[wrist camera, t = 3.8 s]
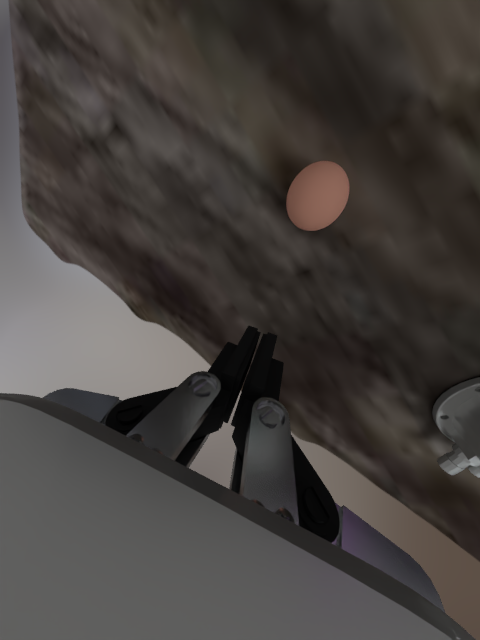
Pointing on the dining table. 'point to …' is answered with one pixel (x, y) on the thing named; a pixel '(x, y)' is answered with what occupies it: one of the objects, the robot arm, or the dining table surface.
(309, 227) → the ball
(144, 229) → the dining table surface
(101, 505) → the robot arm
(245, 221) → the dining table surface
